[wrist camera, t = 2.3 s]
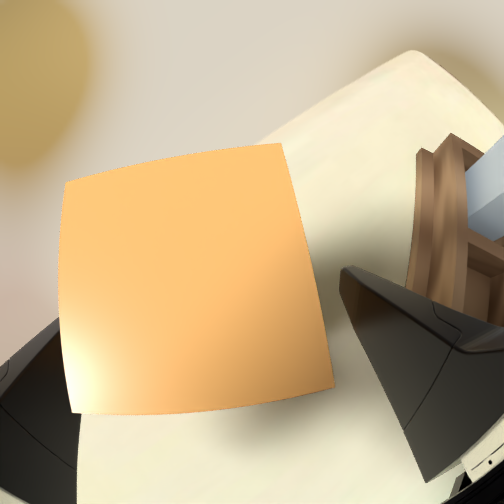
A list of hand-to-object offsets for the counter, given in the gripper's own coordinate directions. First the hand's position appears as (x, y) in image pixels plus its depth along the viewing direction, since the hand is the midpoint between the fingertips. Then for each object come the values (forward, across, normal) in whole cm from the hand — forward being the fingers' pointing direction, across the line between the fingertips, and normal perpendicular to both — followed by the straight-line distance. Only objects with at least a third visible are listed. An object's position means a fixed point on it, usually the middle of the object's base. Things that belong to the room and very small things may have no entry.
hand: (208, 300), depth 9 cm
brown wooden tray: (+5, -18, +6) cm, 19 cm away
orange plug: (+5, 0, +6) cm, 8 cm away
